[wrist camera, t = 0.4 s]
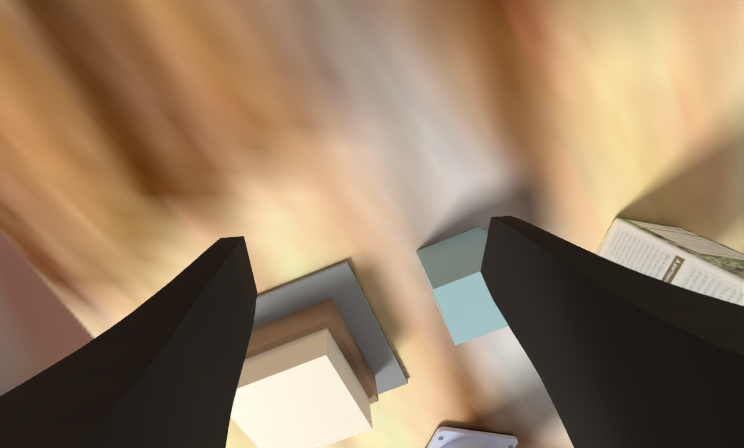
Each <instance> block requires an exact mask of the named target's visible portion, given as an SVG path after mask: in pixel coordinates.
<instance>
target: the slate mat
mask: <svg viewBox="0 0 744 448" xmlns="http://www.w3.org/2000/svg"><path fill="white" fill-rule="evenodd" d="M331 297H332V299H333V301H334V303H335V304H336V306H337V308H338V310H339V312H340V313H341V315H342V317H343V319H344V321H345V322H346V324H347V326H348V328H349V330H350V331H351V333H352V335H353V337H354V339H355V340H356V342H357V344H358V346H359V347H360V349H361V351H362V353H363V355H364V356H365V358H366V360H367V362H368V364H369V365H370V367H371V369H372V371H373V373H374V374H375V378H376V386H377V394H380V393H383V392H386V391H388V390H391V389H394V388H396V387H399V386H402V385H405V384H407V383H408V381H407V379H406V377H405V375H404V373H403V371H402V369H401V367H400V365H399V363H398V361H397V359H396V357H395V355H394V353H393V351H392V349H391V347H390V345H389V343H388V341H387V339H386V337H385V335H384V333H383V331H382V329H381V327H380V325H379V323H378V321H377V319H376V317H375V315H374V313H373V311H372V309H371V307H370V305H369V303H368V301H367V299H366V297H365V295H364V293H363V291H362V289H361V287H360V285H359V283H358V281H357V279H356V277H355V275H354V273H353V271H352V269H351V267H350V265H349V263H348V261H344V262H342V263H339V264H337V265H334V266H332V267H329V268H327V269H324V270H322V271H319V272H316V273H314V274H311V275H309V276H306V277H304V278H301V279H299V280H296V281H294V282H291V283H289V284H286V285H284V286H281V287H279V288H276V289H274V290H271V291H269V292H266V293H264V294H261V295H259V296H257V300H256V309H255V317H254V324H253V328H254V327H257V326H260V325H262V324H265V323H267V322H270V321H272V320H275V319H277V318H280V317H283V316H285V315H288V314H290V313H293V312H295V311H298V310H300V309H303V308H306V307H308V306H311V305H313V304H316V303H318V302H321V301H323V300H326V299H328V298H331Z"/></svg>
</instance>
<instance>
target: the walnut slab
mask: <svg viewBox="0 0 744 448" xmlns="http://www.w3.org/2000/svg"><path fill="white" fill-rule="evenodd" d="M325 328H327V329H328V330H329V332H330V334H331V335H332V337H333V339H334V340H335V342H336V344H337V345H338V347H339V349H340V351H341V352H342V354H343V356H344V357H345V359H346V361H347V362H348V364H349V366H350V367H351V369H352V371H353V372H354V374H355V376H356V377H357V379H358V381H359V382H360V384H361V386H362V388H363V389H364V391H365V393H366V394H367V396H368V398H369V402H370V404H371V403H374V402H377V401H378V394H377V386H376V378H375V374H374V373H373V371H372V369H371V367H370V365H369V364H368V362H367V360H366V358H365V356H364V355H363V353H362V351H361V349H360V347H359V346H358V344H357V342H356V340H355V339H354V337H353V335H352V333H351V331H350V330H349V328H348V326H347V324H346V322H345V321H344V319H343V317H342V315H341V313H340V312H339V310H338V308H337V306H336V304H335V303H334V301H333V299H332V297H331V298H328V299H326V300H323V301H321V302H318V303H316V304H313V305H311V306H308V307H306V308H303V309H300V310H298V311H295V312H293V313H290V314H288V315H285V316H283V317H280V318H277V319H275V320H272V321H270V322H267V323H265V324H262V325H260V326H257V327H254V328H252V333H251V337H250V340H249V344H248V348H247V352H246V356H245V359H248V358H250V357H253V356H255V355H258V354H261V353H263V352H266V351H268V350H271V349H273V348H276V347H279V346H281V345H284V344H286V343H289V342H292V341H294V340H297V339H299V338H302V337H305V336H307V335H310V334H312V333H315V332H318V331H320V330H323V329H325Z"/></svg>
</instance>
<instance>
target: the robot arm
mask: <svg viewBox="0 0 744 448" xmlns="http://www.w3.org/2000/svg"><path fill="white" fill-rule="evenodd" d="M480 272H481V274H482V276H483V279H484V281H485V284H486V286H487V288H488V290H489V293H490V295H491V297H492V299H493V301H494V302H495V304H496V306H497V307H498V309H499V311H500V312H501V314H502V316H503V317H504V319H505V320H506V322H507V324H508V325H509V327H510V328H511V330H512V332H513V333H514V335H515V336H516V338H517V340H518V341H519V343H520V344H521V346H522V348H523V349H524V351H525V352H526V354H527V356H528V357H529V359H530V360H531V362H532V364H533V365H534V367H535V369H536V371H537V372H538V374H539V376H540V378H541V379H542V382H543V384H544V386H545V388H546V390H547V392H548V394H549V396H550V398H551V400H552V402H553V404H554V406H555V408H556V410H557V412H558V414H559V416H560V418H561V420H562V423H563V425H564V427H565V429H566V431H567V433H568V436H569V438H570V440H571V442H572V444H573V446H574V448H744V306H742V305H738V304H735V303H731V302H728V301H725V300H721V299H718V298H715V297H711V296H708V295H704V294H701V293H698V292H695V291H691V290H688V289H685V288H682V287H679V286H676V285H673V284H670V283H668V282H665V281H662V280H659V279H656V278H654V277H651V276H648V275H645V274H642V273H640V272H637V271H635V270H632V269H630V268H627V267H625V266H622V265H620V264H617V263H615V262H613V261H610V260H608V259H606V258H603V257H601V256H599V255H596V254H594V253H592V252H590V251H587V250H585V249H583V248H581V247H579V246H576V245H574V244H572V243H570V242H568V241H566V240H564V239H562V238H559V237H557V236H555V235H553V234H551V233H549V232H547V231H545V230H543V229H541V228H538V227H536V226H534V225H532V224H530V223H527V222H525V221H523V220H520V219H518V218H515V217H512V216H503V217H491V221H490V226H489V231H488V236H487V240H486V245H485V250H484V255H483V260H482V265H481V270H480ZM256 300H257V289H256V285H255V281H254V277H253V272H252V268H251V264H250V260H249V256H248V252H247V247H246V243H245V239H244V236H241V237H228V238H220V239H219V240H218V241H217V242H215V243H214V244H213V245H212V246H211V247H209V248H208V249H207V250H206V251H205V252H204V253H203V254H202V255H200V256H199V257H198V258H197V259H196V260H195V261H194V262H193V263H191V264H190V265H189V266H188V267H187V268H186V269H184V270H183V271H182V272H181V273H180V274H179V275H178V276H176V277H175V278H174V279H173V280H172V281H171V282H169V283H168V284H167V285H166V286H165V287H163V288H162V289H161V290H160V291H158V292H157V293H156V294H155V295H153V296H152V297H151V298H149V299H148V300H147V301H146V302H144V303H143V304H142V305H141V306H139V307H138V308H137V309H136V310H134V311H133V312H132V313H130V314H129V315H128V316H126V317H125V318H124V319H122V320H121V321H120V322H118V323H117V324H115V325H114V326H113V327H111V328H110V329H108V330H107V331H105V332H104V333H102V334H101V335H99V336H98V337H96V338H95V339H93V340H92V341H91V342H89V343H88V344H86V345H85V346H83V347H82V348H80V349H78V350H77V351H75V352H74V353H72V354H70V355H69V356H67V357H65V358H64V359H62V360H61V361H59V362H57V363H56V364H54V365H52V366H51V367H49V368H47V369H46V370H44V371H42V372H41V373H39V374H37V375H36V376H34V377H32V378H31V379H29V380H28V381H26V382H24V383H22V384H21V385H19V386H17V387H16V388H14V389H12V390H10V391H9V392H7V393H5V394H3V395H2V396H0V448H225V447H226V440H227V434H228V427H229V421H230V416H231V412H232V407H233V402H234V398H235V395H236V391H237V387H238V383H239V379H240V375H241V371H242V368H243V364H244V360H245V356H246V352H247V348H248V344H249V340H250V337H251V333H252V328H253V324H254V317H255V309H256ZM517 444H518V440H517V438H516V437H515V436H510V435H503V434H495V433H488V432H481V431H473V430H466V429H459V428H451V427H439V428H438V429H437V431H436V432H435V434H434V436H433V438H432V439H431V441H430V443H429V444H428V446H427V448H515V447H516V445H517Z"/></svg>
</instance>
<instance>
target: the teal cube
mask: <svg viewBox="0 0 744 448" xmlns="http://www.w3.org/2000/svg"><path fill="white" fill-rule="evenodd" d="M487 236H488V234H487V233H486V232H485V231H484V230H483V229H482V228H481V227H480V226H478V227H476V228H473V229H471V230H468V231H466V232H463V233H460V234H458V235H455V236H453V237H450V238H448V239H445V240H443V241H440V242H438V243H435V244H433V245H430V246H428V247H425V248H422V249H420V250H417V251H416V252H417V255H418V257H419V260H420V262H421V265H422V268H423V270H424V273H425V275H426V278H427V280H428V283H429V285H430V288H431V291H432V293H433V296H434V298H435V301H436V303H437V305H438V308H439V310H440V312H441V315H442V317H443V319H444V321H445V324H446V326H447V328H448V330H449V333H450V335H451V337H452V340H453V342H454V344H455V345H458V344H461V343H463V342H466V341H469V340H471V339H474V338H477V337H479V336H482V335H485V334H487V333H490V332H493V331H496V330H498V329H501V328H504V327H506V326H509V325H508V324H507V322H506V320H505V319H504V317H503V316H502V314H501V312H500V311H499V309H498V307H497V306H496V304H495V302H494V301H493V299H492V297H491V295H490V293H489V290H488V288H487V286H486V284H485V281H484V279H483V276H482V274H481V272H480V270H481V265H482V260H483V255H484V250H485V245H486V240H487Z"/></svg>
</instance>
